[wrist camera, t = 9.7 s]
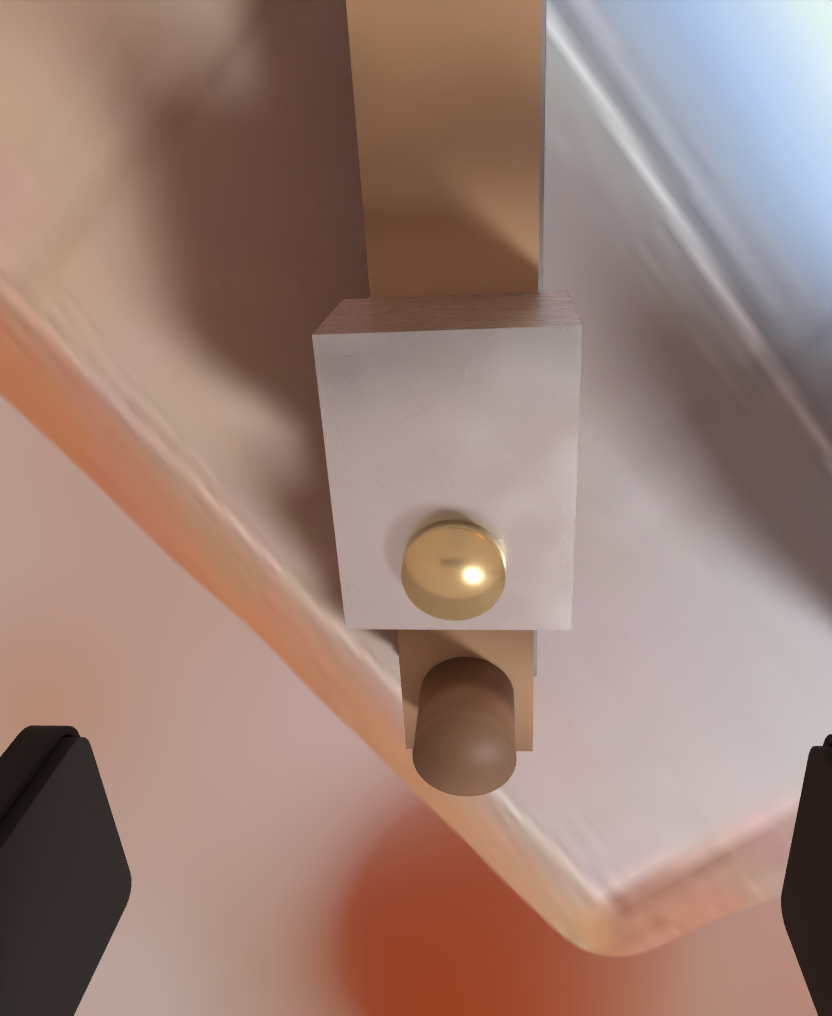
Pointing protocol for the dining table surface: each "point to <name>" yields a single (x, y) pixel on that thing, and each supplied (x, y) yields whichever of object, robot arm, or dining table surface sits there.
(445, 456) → the white block brass knobs
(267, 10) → the dining table surface
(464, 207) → the body
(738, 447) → the dining table surface
